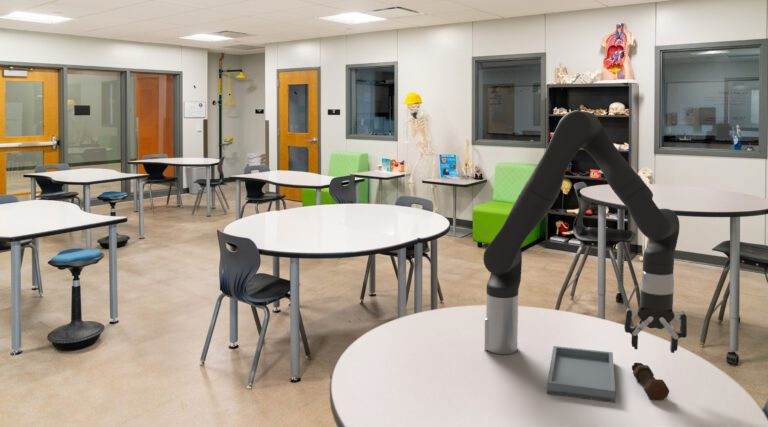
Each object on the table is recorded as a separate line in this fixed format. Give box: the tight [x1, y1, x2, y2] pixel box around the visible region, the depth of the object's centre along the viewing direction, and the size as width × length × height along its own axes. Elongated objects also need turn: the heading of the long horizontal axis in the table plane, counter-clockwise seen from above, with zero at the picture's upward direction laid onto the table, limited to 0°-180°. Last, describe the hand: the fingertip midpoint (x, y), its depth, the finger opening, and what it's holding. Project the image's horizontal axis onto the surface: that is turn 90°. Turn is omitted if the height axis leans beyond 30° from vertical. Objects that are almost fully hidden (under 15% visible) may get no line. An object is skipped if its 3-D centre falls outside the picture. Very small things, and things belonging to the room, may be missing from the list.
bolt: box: [631, 362, 670, 402], centre depth 153 cm, size 6×5×15 cm
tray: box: [546, 345, 616, 403], centre depth 159 cm, size 16×24×3 cm, turn 161°
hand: (653, 350), depth 152 cm, fingers open, 8 cm apart
